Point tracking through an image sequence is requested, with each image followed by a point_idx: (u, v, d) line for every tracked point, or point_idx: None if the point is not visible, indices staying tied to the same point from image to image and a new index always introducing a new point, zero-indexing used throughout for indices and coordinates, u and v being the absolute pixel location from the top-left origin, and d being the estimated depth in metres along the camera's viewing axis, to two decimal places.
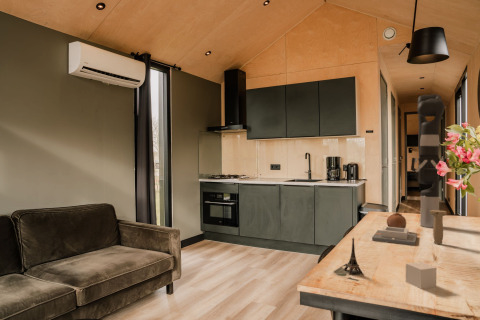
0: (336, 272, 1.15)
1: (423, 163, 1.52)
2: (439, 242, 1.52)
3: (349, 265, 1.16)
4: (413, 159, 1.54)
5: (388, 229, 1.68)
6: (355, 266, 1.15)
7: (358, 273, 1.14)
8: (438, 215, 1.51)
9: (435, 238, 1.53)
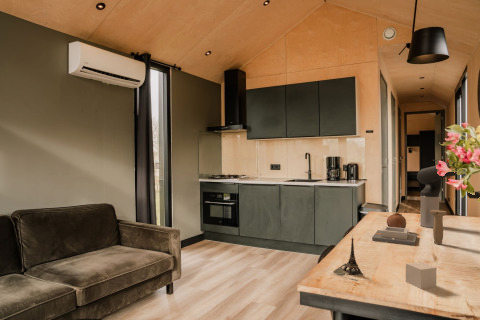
0: (335, 272, 1.15)
1: None
2: (439, 242, 1.52)
3: (348, 265, 1.16)
4: None
5: (388, 229, 1.68)
6: (354, 266, 1.15)
7: (357, 273, 1.14)
8: (438, 215, 1.51)
9: (435, 238, 1.53)
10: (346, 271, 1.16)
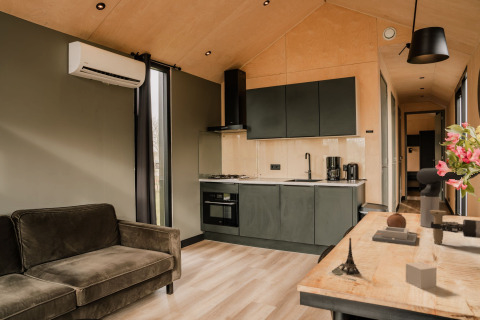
0: (333, 272, 1.15)
1: None
2: (439, 242, 1.52)
3: (346, 265, 1.16)
4: None
5: (388, 229, 1.68)
6: (352, 266, 1.15)
7: (355, 273, 1.15)
8: (438, 215, 1.51)
9: (435, 238, 1.53)
10: (344, 271, 1.17)
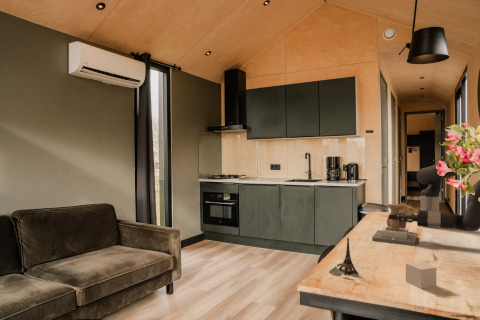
0: (331, 272, 1.15)
1: None
2: None
3: (344, 265, 1.16)
4: None
5: (388, 229, 1.68)
6: (350, 266, 1.15)
7: (353, 273, 1.15)
8: (394, 208, 1.61)
9: (392, 230, 1.62)
10: (342, 271, 1.17)
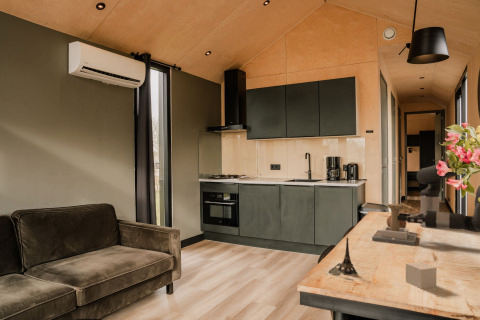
0: (331, 272, 1.15)
1: None
2: None
3: (343, 265, 1.16)
4: None
5: (388, 229, 1.68)
6: (349, 266, 1.15)
7: (352, 272, 1.15)
8: (394, 208, 1.61)
9: (392, 230, 1.62)
10: (341, 271, 1.17)
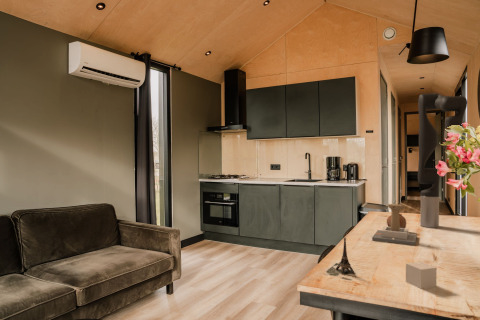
0: (328, 272, 1.15)
1: None
2: None
3: (341, 265, 1.16)
4: None
5: (388, 229, 1.68)
6: (347, 265, 1.15)
7: (350, 272, 1.15)
8: (395, 208, 1.60)
9: (392, 230, 1.62)
10: (339, 271, 1.17)
